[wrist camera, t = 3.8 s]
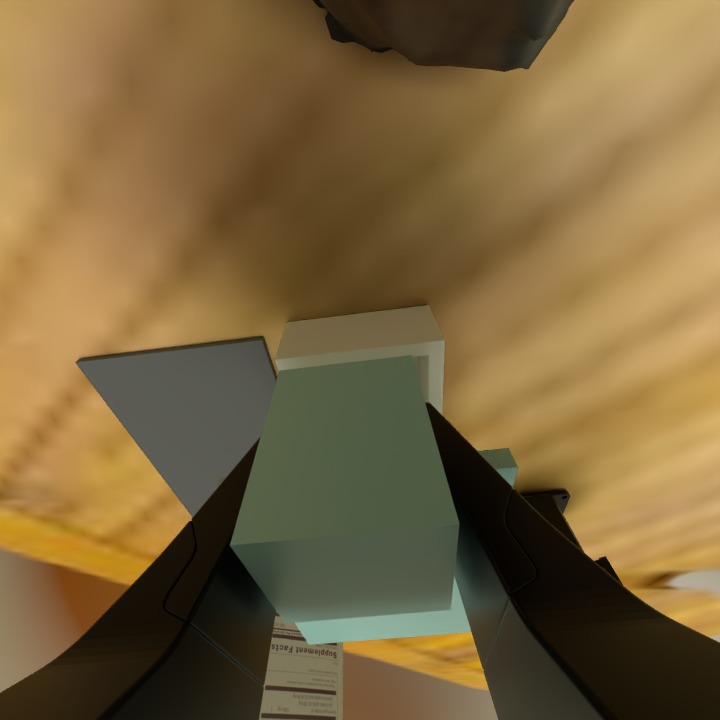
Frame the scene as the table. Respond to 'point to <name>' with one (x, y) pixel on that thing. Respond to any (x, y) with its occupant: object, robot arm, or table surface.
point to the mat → (189, 407)
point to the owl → (449, 29)
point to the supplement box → (302, 677)
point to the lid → (354, 506)
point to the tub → (370, 343)
